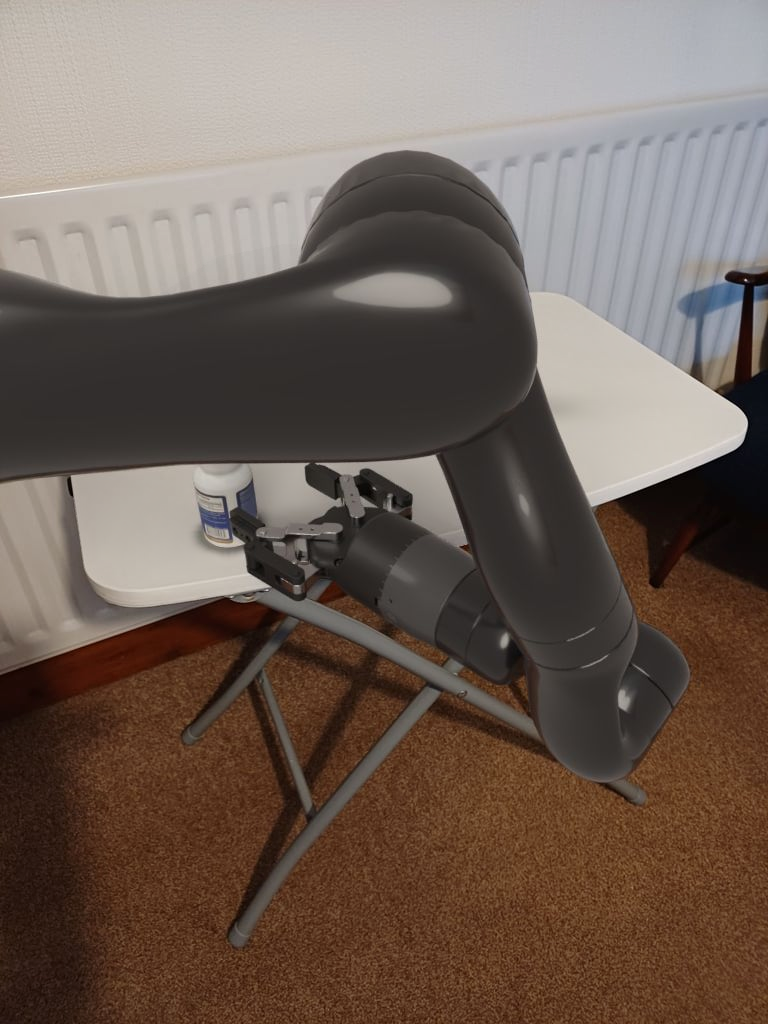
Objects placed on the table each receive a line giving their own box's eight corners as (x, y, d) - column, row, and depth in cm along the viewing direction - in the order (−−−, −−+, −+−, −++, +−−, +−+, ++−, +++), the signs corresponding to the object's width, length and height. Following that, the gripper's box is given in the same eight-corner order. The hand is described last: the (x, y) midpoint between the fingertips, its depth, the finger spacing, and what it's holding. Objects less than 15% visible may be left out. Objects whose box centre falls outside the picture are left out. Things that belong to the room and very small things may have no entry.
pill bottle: (249, 508, 79) (237, 426, 73) (267, 539, 75) (256, 455, 69) (197, 523, 77) (180, 440, 71) (212, 556, 73) (196, 471, 67)
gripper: (476, 497, 61) (327, 423, 69) (350, 595, 53) (199, 497, 61) (469, 568, 66) (331, 490, 74) (353, 668, 57) (212, 568, 66)
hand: (271, 493), depth 68 cm, fingers open, 8 cm apart
